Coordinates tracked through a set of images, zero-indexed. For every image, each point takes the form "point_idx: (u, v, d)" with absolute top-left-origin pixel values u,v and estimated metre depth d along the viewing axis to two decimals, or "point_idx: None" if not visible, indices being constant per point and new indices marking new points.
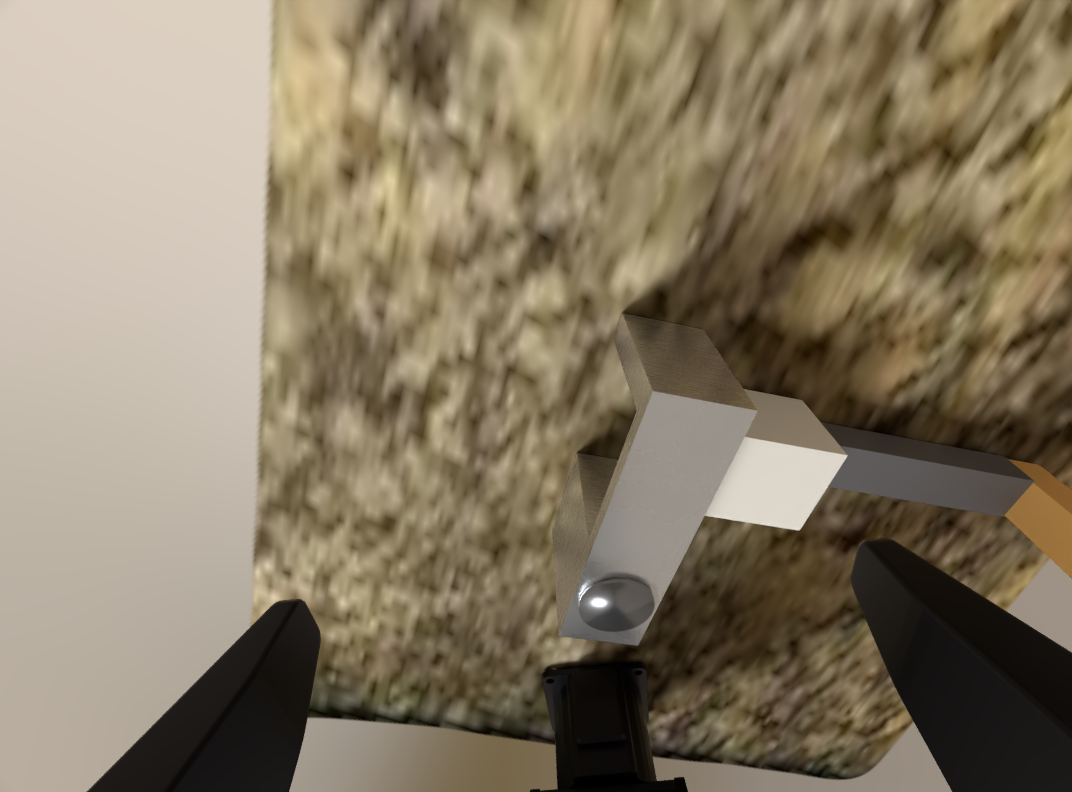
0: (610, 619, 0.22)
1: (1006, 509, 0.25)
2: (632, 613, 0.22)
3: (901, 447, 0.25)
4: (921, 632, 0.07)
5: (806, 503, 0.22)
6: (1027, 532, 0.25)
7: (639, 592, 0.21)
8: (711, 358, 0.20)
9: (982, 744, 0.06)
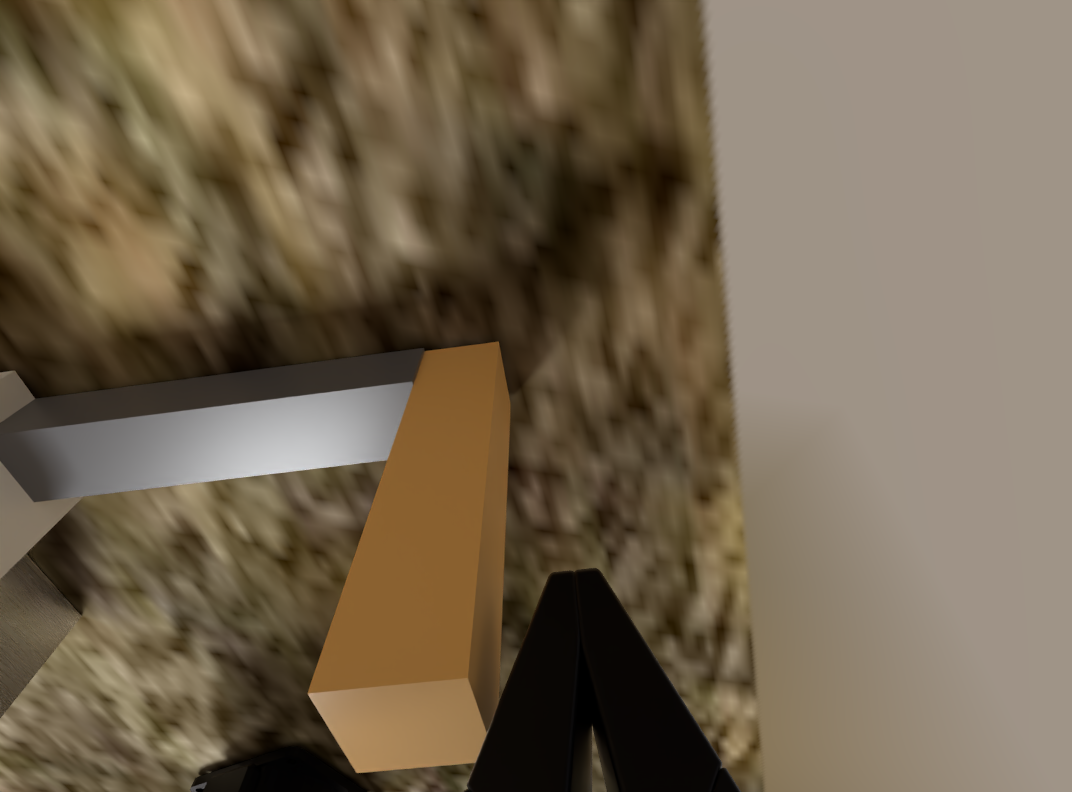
0: None
1: None
2: None
3: (183, 395, 0.14)
4: (583, 664, 0.07)
5: None
6: None
7: None
8: None
9: (607, 775, 0.07)
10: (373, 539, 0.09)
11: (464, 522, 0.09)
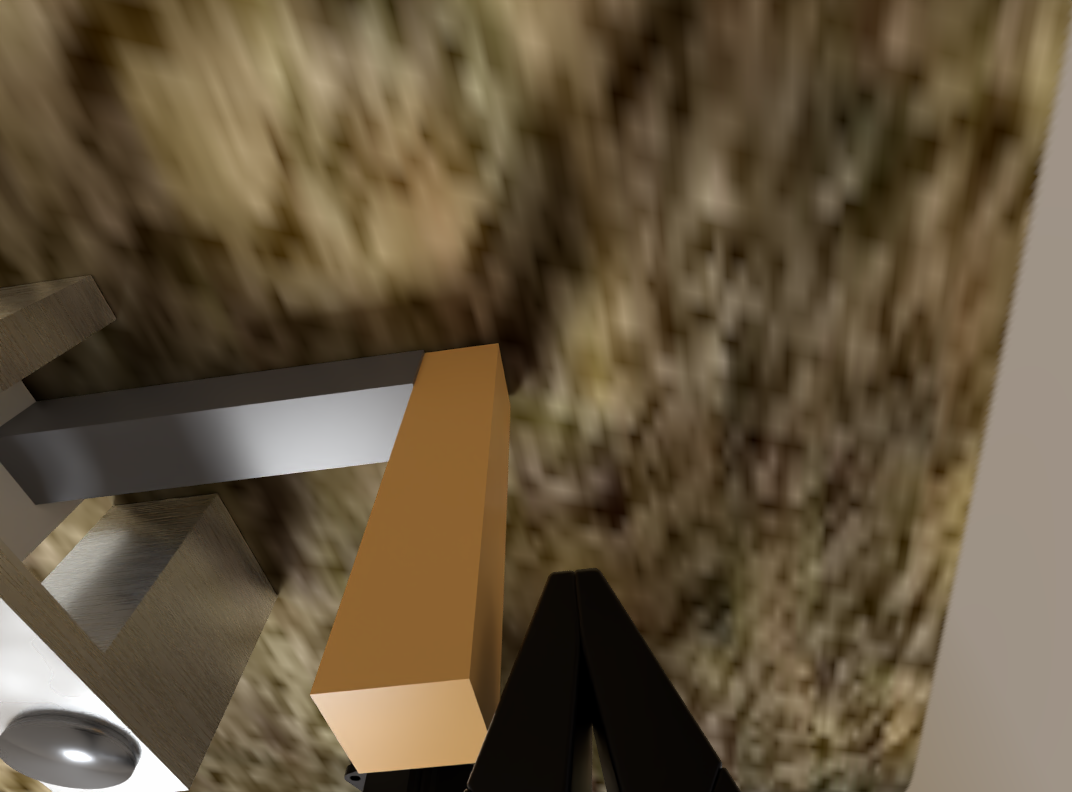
0: (81, 774, 0.14)
1: None
2: (98, 760, 0.13)
3: (184, 397, 0.14)
4: (583, 664, 0.07)
5: None
6: None
7: (63, 734, 0.13)
8: None
9: (607, 776, 0.07)
10: (374, 541, 0.09)
11: (466, 524, 0.09)
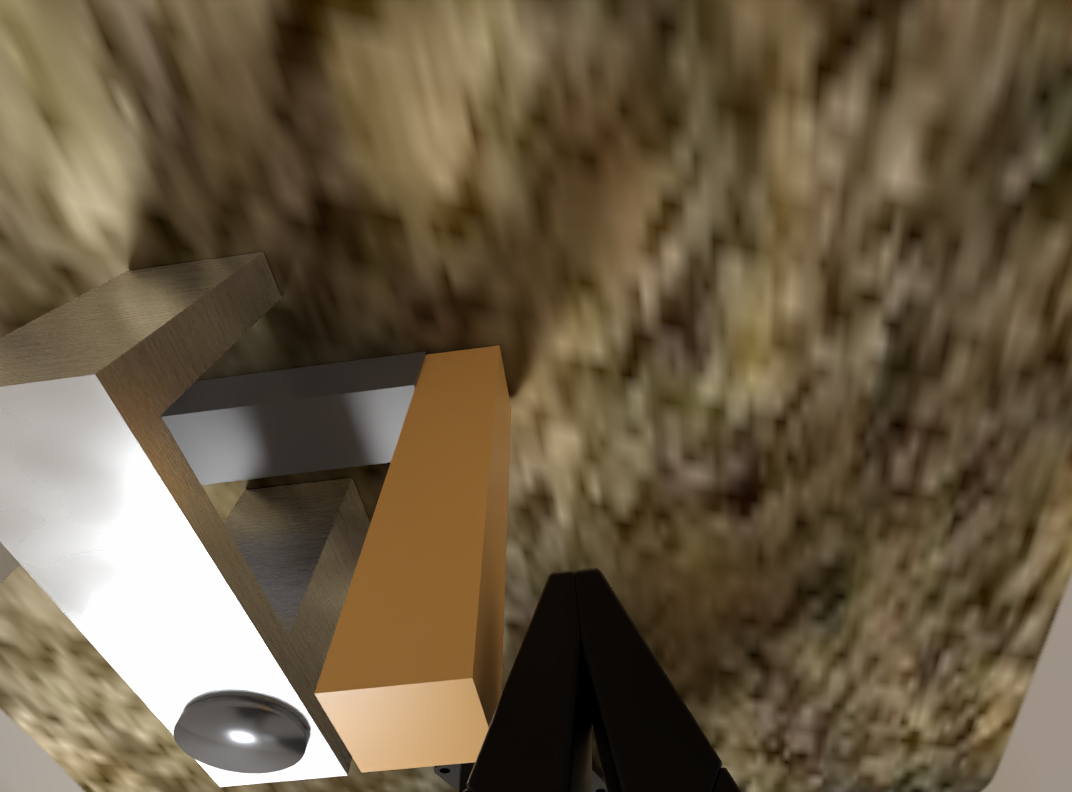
0: (251, 757, 0.13)
1: None
2: (273, 743, 0.13)
3: (186, 398, 0.14)
4: (583, 664, 0.07)
5: None
6: None
7: (246, 715, 0.12)
8: (181, 296, 0.11)
9: (608, 776, 0.07)
10: (377, 542, 0.09)
11: (467, 525, 0.09)
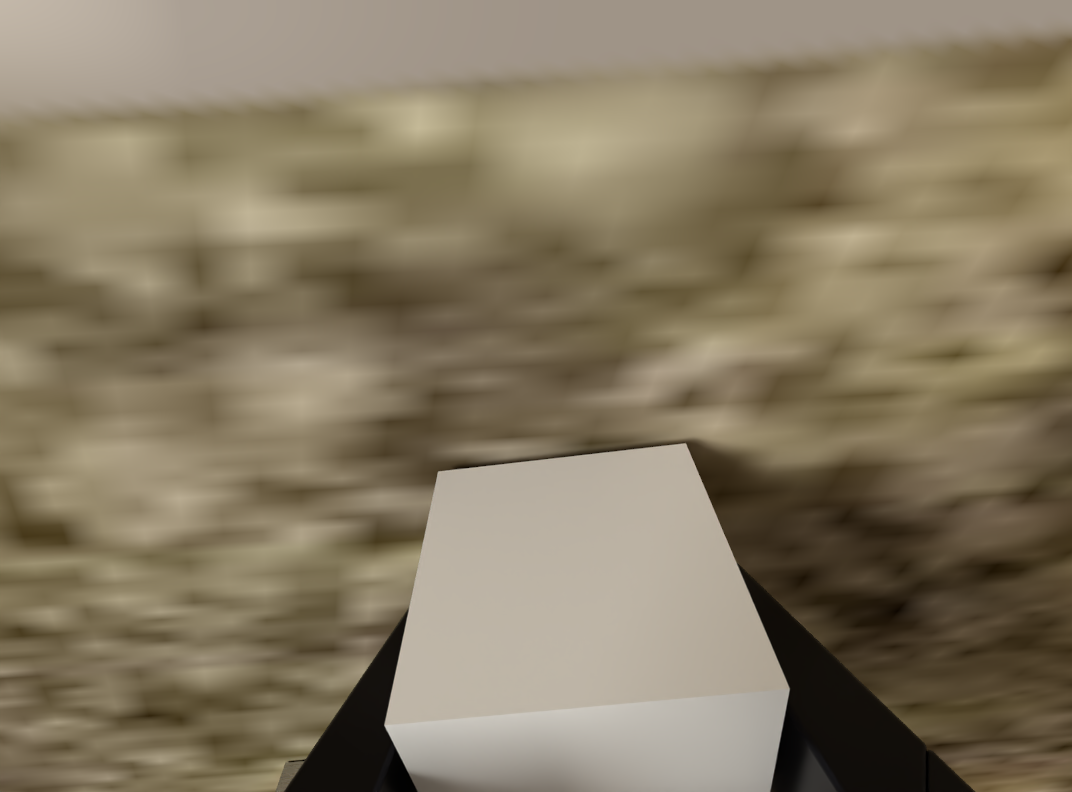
0: None
1: None
2: None
3: None
4: None
5: None
6: None
7: None
8: None
9: None
10: None
11: None
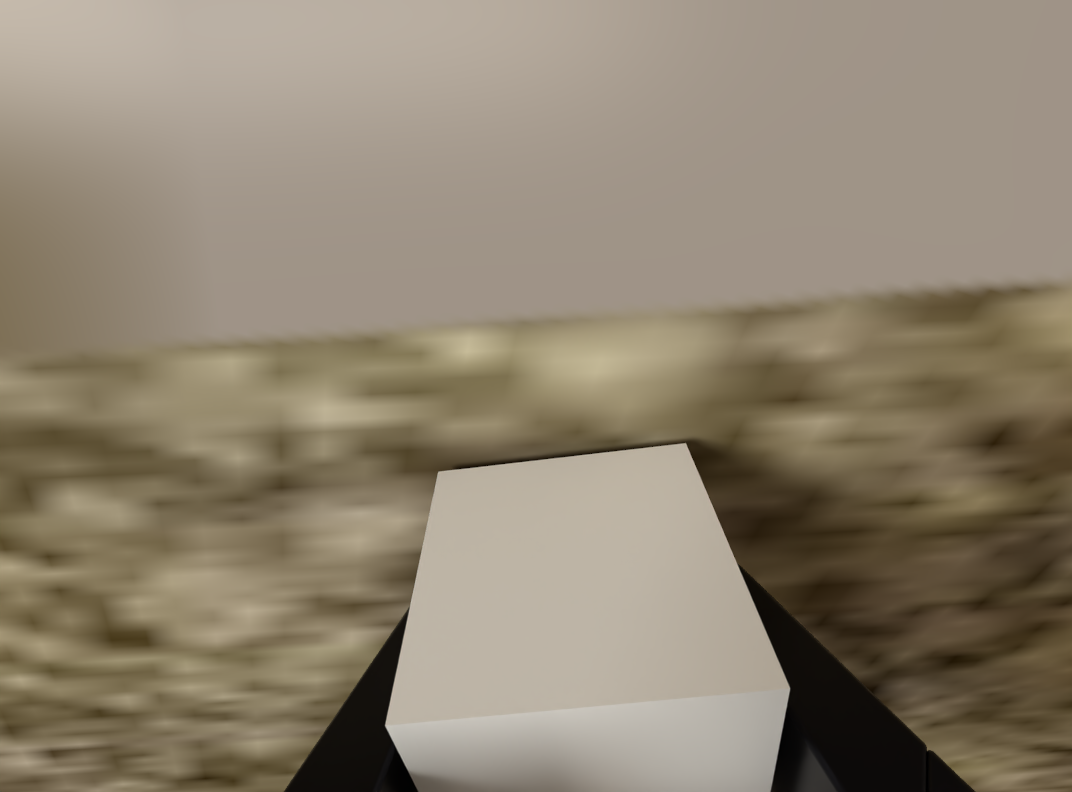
0: None
1: None
2: None
3: None
4: None
5: None
6: None
7: None
8: None
9: None
10: None
11: None
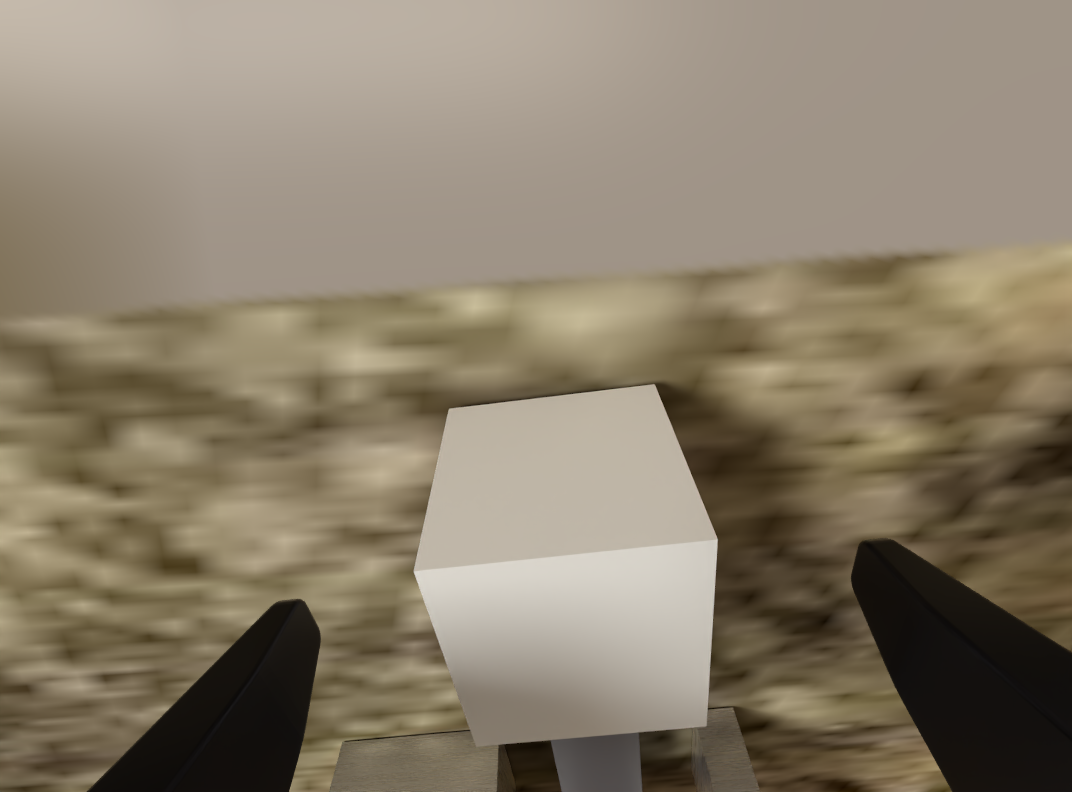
0: None
1: None
2: None
3: None
4: (921, 632, 0.07)
5: (555, 726, 0.09)
6: None
7: None
8: None
9: (982, 744, 0.06)
10: None
11: None
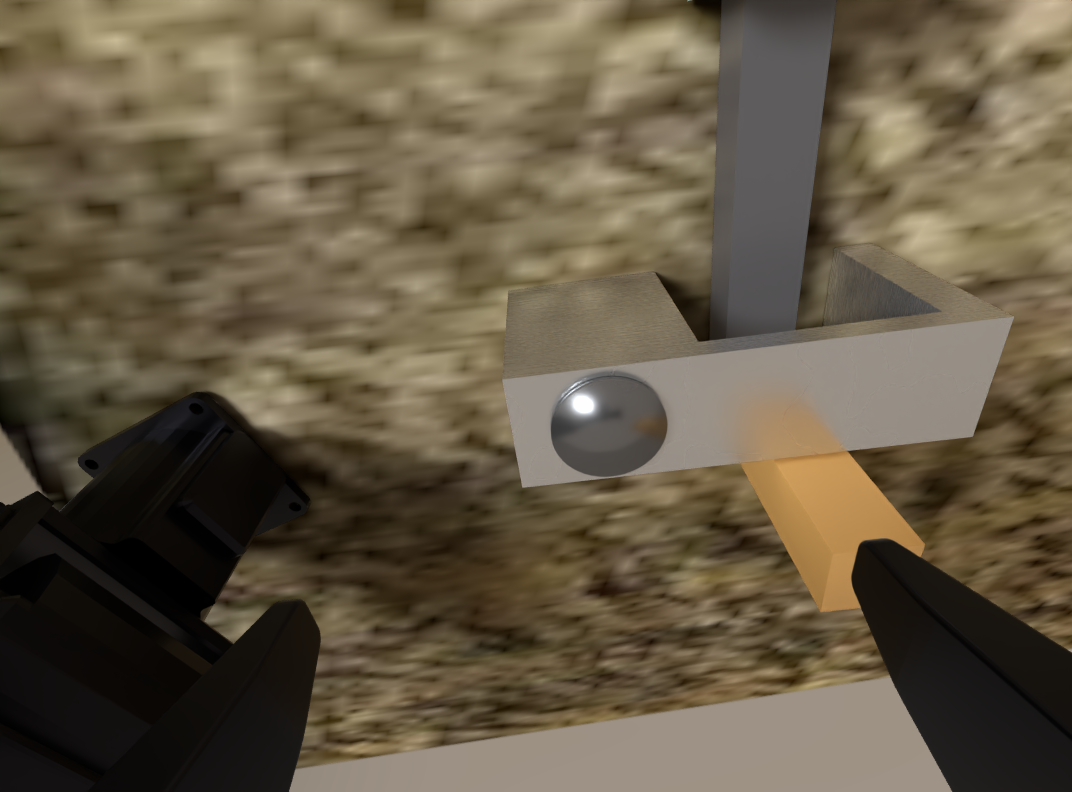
0: (580, 433, 0.14)
1: None
2: (603, 454, 0.14)
3: None
4: (921, 632, 0.07)
5: None
6: None
7: (651, 445, 0.14)
8: None
9: (982, 744, 0.06)
10: (863, 479, 0.14)
11: None
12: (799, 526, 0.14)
